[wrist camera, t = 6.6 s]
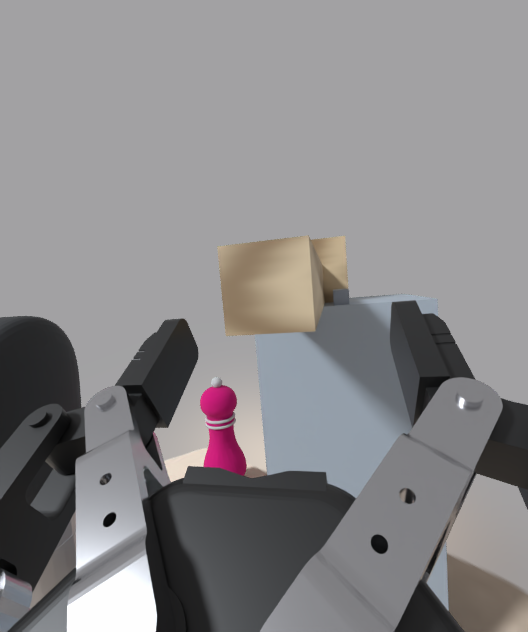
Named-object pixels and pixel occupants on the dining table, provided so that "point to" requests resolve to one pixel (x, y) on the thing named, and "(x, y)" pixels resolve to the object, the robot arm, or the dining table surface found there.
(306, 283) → the t key
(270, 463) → the stand
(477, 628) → the dining table surface
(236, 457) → the pepper mill
